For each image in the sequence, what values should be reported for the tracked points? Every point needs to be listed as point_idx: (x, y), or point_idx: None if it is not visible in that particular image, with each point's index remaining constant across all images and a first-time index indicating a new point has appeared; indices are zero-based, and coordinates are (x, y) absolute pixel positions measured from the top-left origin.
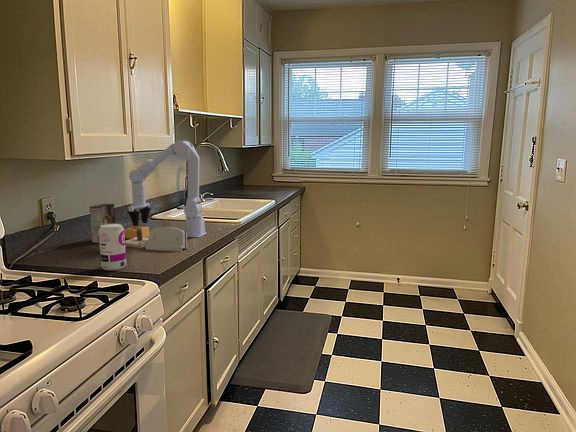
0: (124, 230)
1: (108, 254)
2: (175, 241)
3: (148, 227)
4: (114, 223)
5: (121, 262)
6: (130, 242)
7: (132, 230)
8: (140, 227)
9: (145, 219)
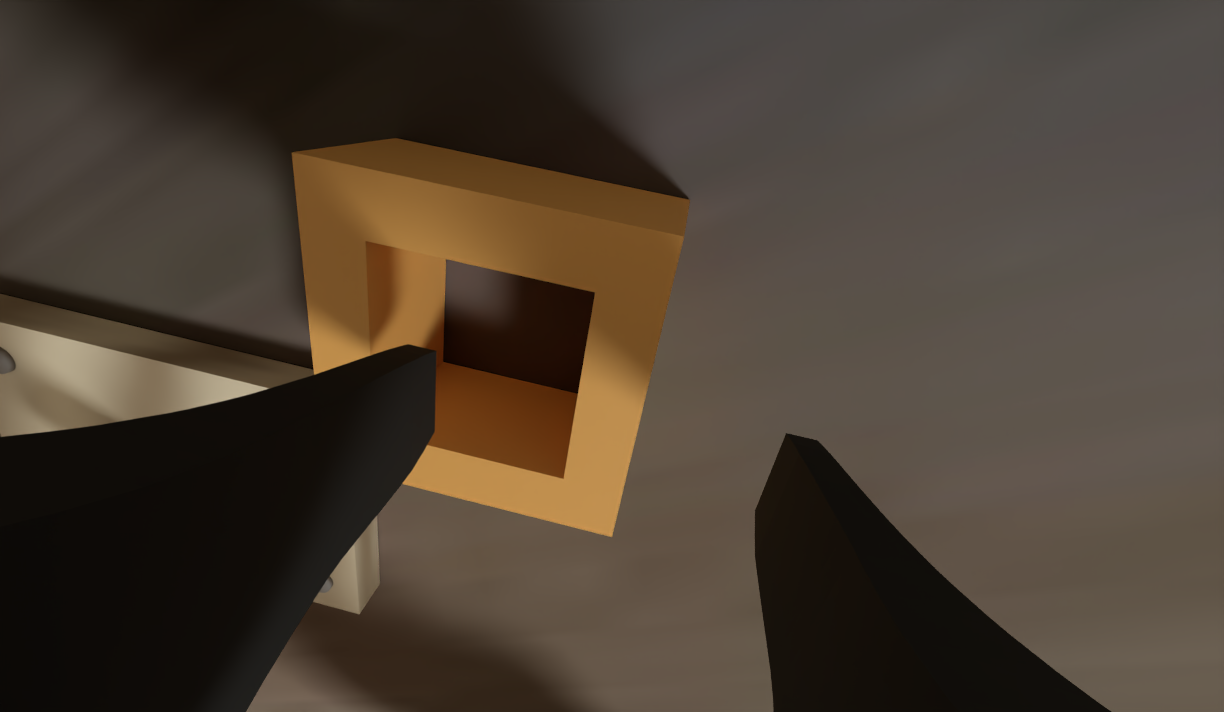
0: (304, 162)
1: None
2: None
3: (590, 529)
4: None
5: None
6: (38, 415)
7: (315, 341)
8: (576, 406)
9: (775, 561)
